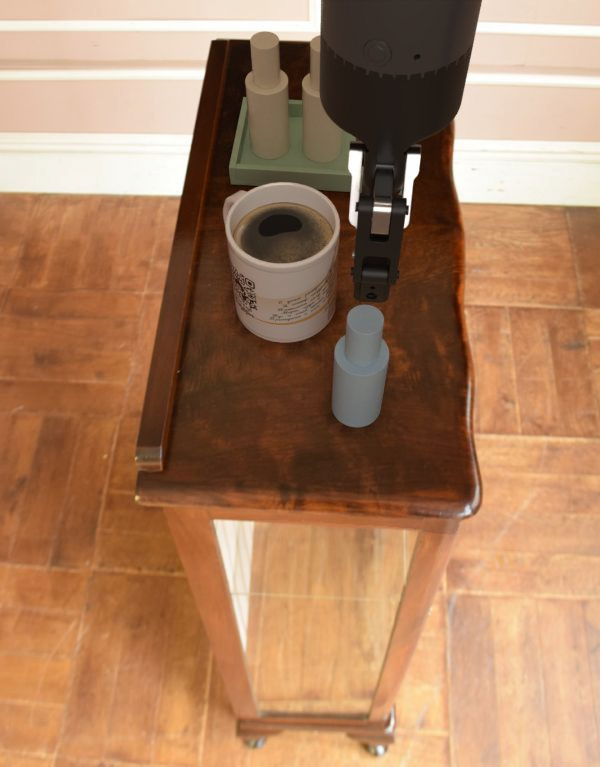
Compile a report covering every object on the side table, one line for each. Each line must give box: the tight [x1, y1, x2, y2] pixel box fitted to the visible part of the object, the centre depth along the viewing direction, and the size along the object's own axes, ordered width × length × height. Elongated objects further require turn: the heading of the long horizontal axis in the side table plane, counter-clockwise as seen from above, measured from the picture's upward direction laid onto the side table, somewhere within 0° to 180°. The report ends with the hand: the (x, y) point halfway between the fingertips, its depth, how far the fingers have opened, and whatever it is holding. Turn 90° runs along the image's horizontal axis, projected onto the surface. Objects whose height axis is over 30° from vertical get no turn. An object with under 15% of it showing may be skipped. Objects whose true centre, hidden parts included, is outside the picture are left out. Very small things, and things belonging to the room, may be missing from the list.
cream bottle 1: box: [244, 31, 290, 159], centre depth 80 cm, size 4×4×13 cm
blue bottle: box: [331, 304, 390, 428], centre depth 63 cm, size 4×4×13 cm
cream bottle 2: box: [301, 34, 343, 163], centre depth 80 cm, size 4×4×13 cm
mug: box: [222, 182, 341, 344], centre depth 71 cm, size 10×12×11 cm
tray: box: [228, 96, 403, 196], centre depth 85 cm, size 19×11×2 cm, turn 84°
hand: (373, 246), depth 51 cm, fingers open, 8 cm apart
